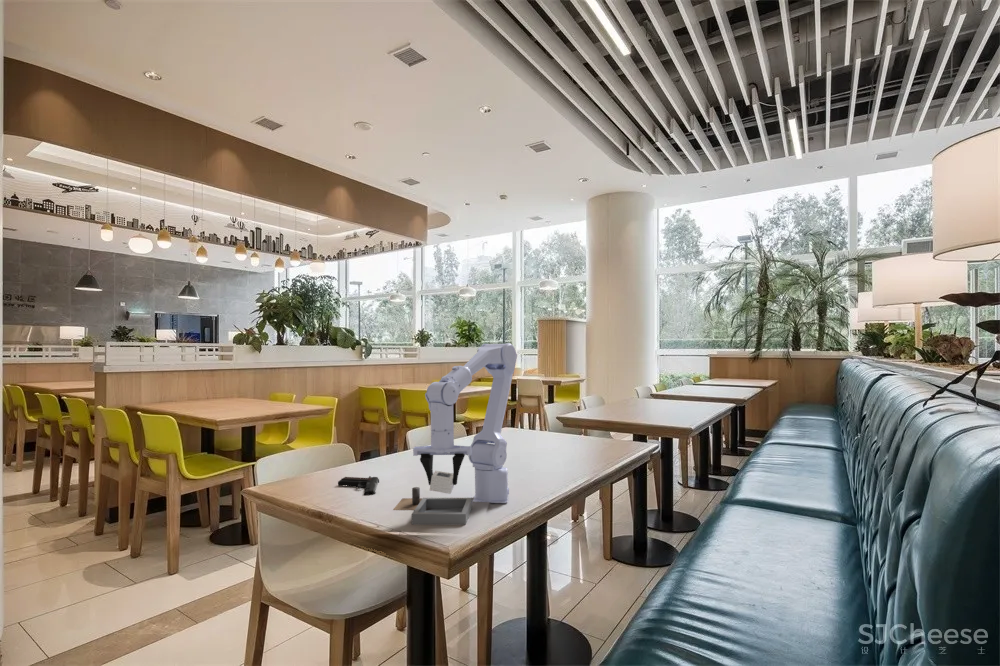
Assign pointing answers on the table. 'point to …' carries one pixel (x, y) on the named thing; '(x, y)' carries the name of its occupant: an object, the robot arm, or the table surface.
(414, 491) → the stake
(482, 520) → the table surface
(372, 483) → the handgun
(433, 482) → the collar
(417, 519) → the tray
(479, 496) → the robot arm
